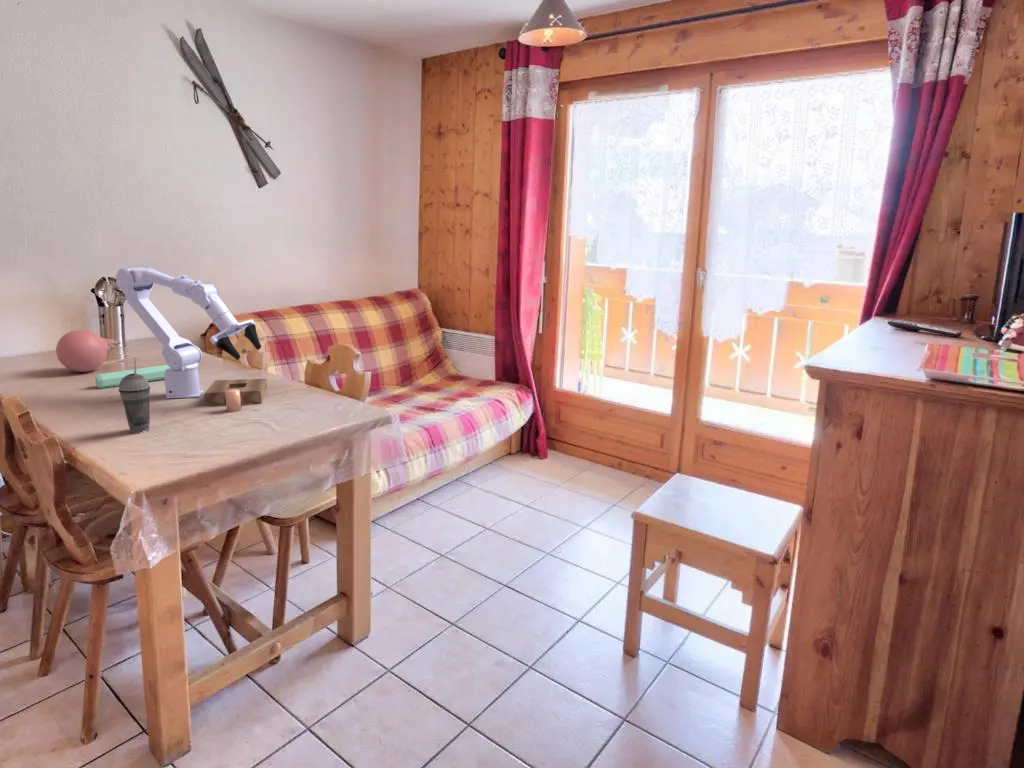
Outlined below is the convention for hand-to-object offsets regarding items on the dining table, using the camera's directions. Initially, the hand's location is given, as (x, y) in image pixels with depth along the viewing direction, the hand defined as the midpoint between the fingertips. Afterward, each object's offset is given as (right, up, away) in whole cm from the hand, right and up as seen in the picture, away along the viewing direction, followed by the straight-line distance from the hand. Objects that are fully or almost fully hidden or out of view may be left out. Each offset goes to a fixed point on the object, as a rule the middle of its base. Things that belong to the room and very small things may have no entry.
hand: (249, 353), depth 196 cm
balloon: (-73, -5, +39) cm, 83 cm away
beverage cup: (-19, -22, -25) cm, 38 cm away
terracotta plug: (-3, -17, -5) cm, 18 cm away
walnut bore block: (-7, -14, +8) cm, 17 cm away
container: (-48, -9, +24) cm, 55 cm away
